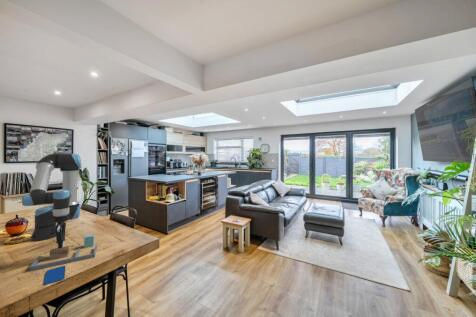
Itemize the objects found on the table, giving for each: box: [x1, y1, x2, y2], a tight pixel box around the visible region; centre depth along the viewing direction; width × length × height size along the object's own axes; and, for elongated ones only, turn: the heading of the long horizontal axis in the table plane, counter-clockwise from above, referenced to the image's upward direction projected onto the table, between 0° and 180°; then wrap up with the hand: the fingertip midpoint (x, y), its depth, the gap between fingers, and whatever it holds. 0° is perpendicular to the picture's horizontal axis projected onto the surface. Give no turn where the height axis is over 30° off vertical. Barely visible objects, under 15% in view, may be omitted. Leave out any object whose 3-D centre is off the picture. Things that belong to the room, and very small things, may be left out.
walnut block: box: [49, 245, 70, 261], centre depth 115 cm, size 4×8×5 cm, turn 122°
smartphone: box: [43, 265, 66, 286], centre depth 96 cm, size 7×1×15 cm
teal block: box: [83, 233, 95, 249], centre depth 129 cm, size 5×5×7 cm
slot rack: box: [28, 244, 98, 272], centre depth 113 cm, size 14×28×2 cm, turn 122°
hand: (60, 252), depth 117 cm, fingers closed
